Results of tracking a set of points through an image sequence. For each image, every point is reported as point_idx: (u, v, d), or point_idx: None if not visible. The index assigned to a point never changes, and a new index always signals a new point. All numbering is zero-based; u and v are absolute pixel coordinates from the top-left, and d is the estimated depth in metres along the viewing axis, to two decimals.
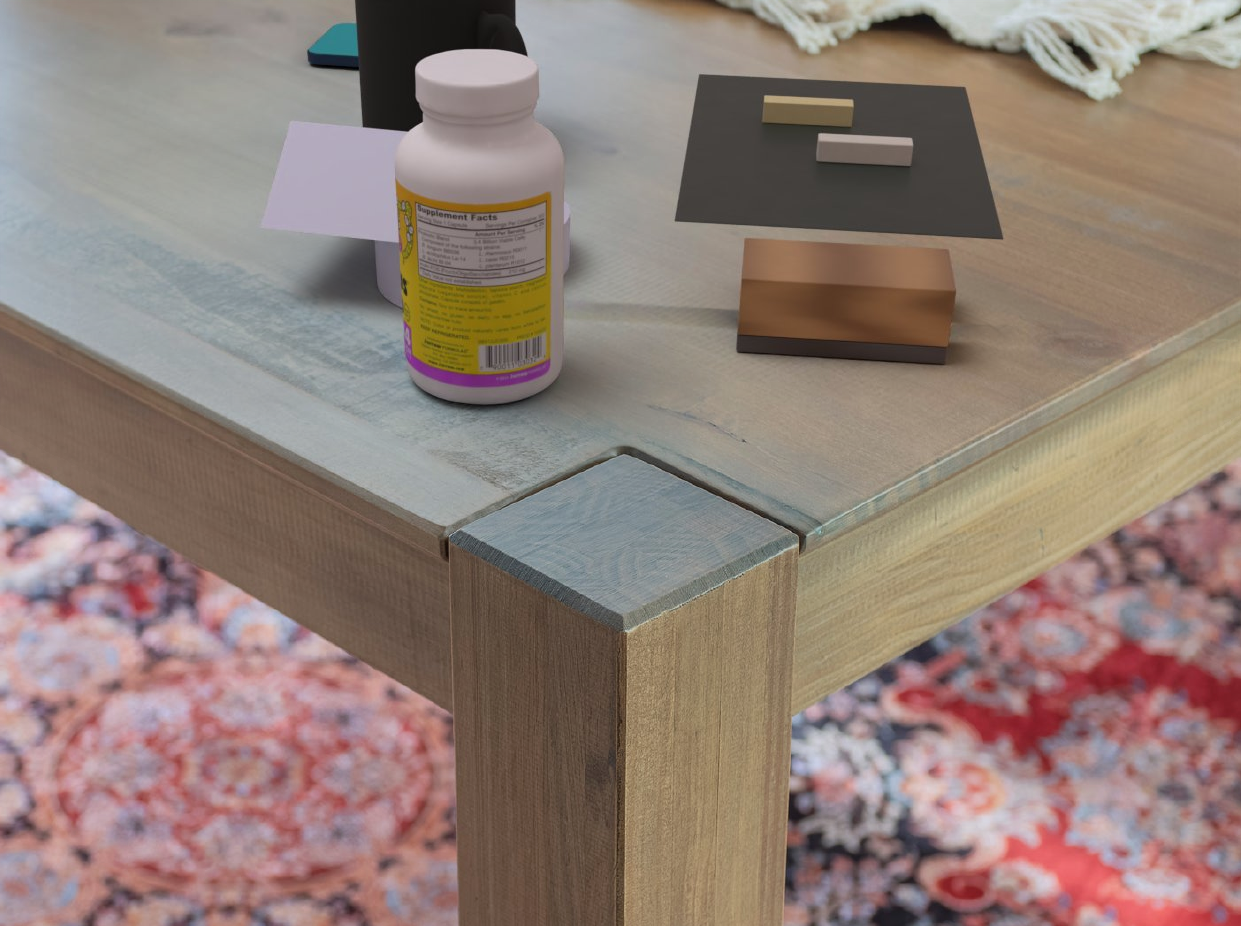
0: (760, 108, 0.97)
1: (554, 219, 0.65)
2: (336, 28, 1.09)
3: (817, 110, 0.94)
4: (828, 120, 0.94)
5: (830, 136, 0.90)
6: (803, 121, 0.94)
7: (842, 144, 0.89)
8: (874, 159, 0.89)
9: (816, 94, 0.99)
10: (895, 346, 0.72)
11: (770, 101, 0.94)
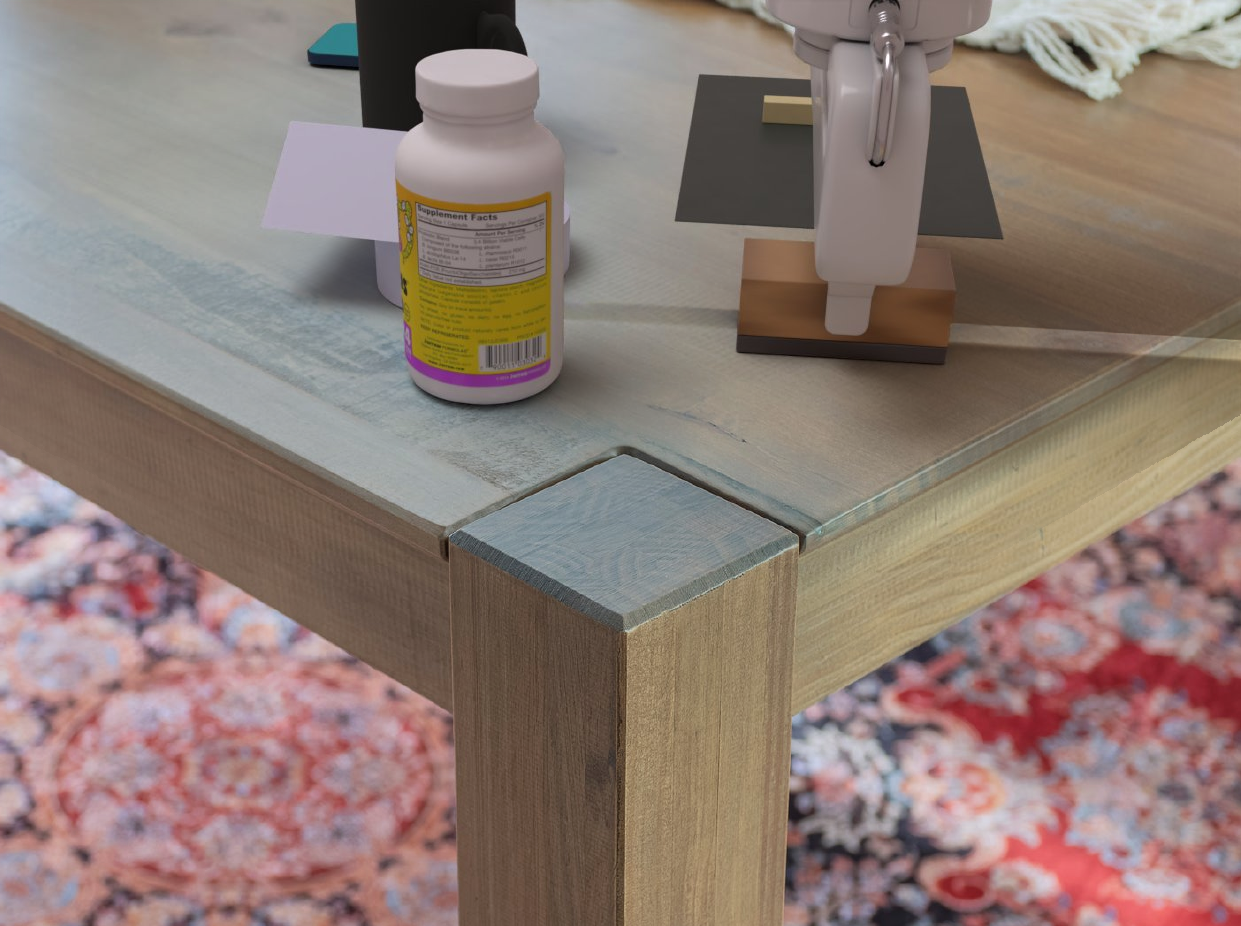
0: (760, 108, 0.97)
1: (554, 219, 0.65)
2: (336, 28, 1.09)
3: None
4: None
5: None
6: (803, 121, 0.94)
7: None
8: None
9: None
10: (895, 346, 0.72)
11: (770, 101, 0.94)
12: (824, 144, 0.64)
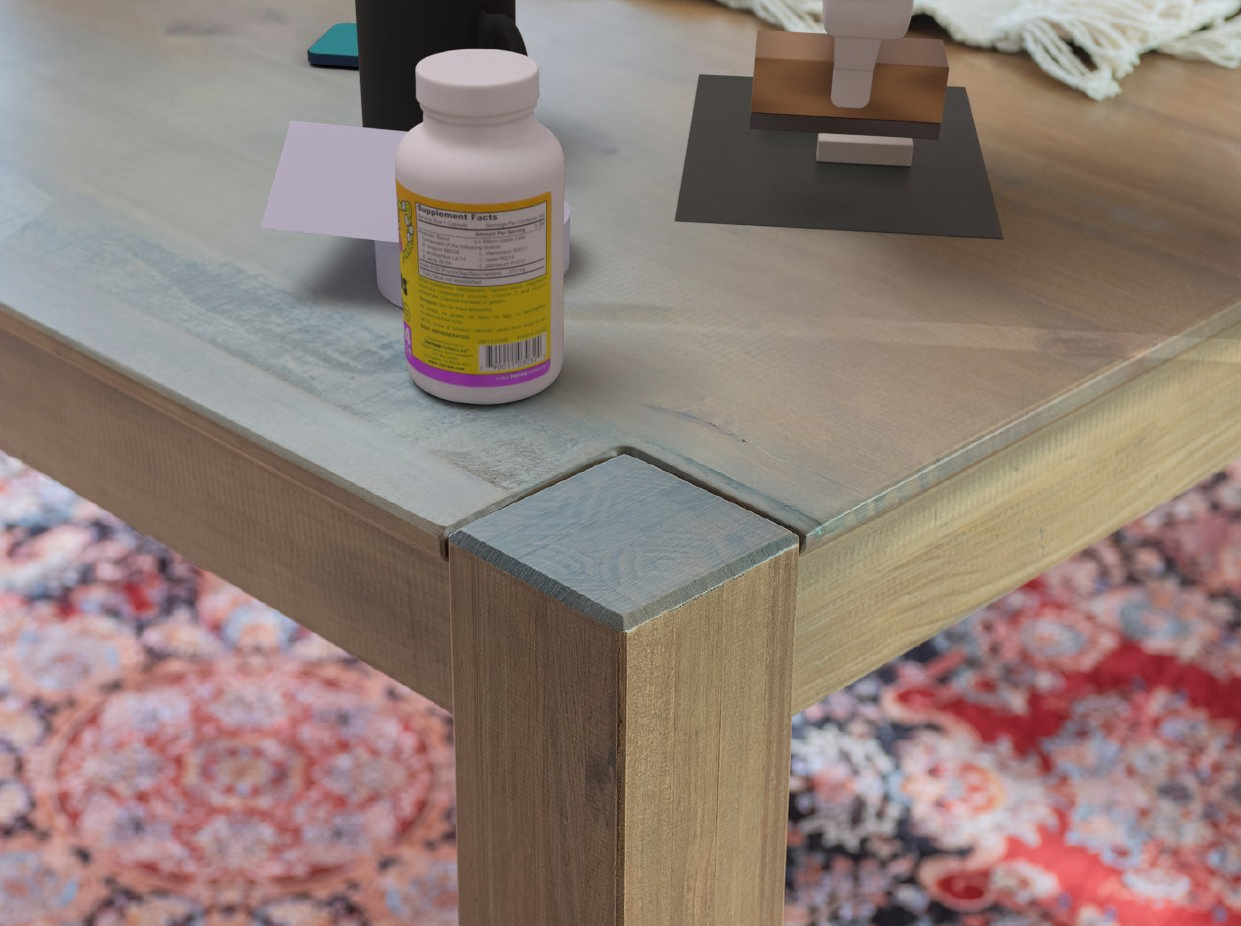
0: None
1: (554, 219, 0.65)
2: (336, 28, 1.09)
3: None
4: None
5: (830, 136, 0.90)
6: None
7: (842, 144, 0.89)
8: (874, 159, 0.89)
9: None
10: (894, 122, 0.79)
11: None
12: None
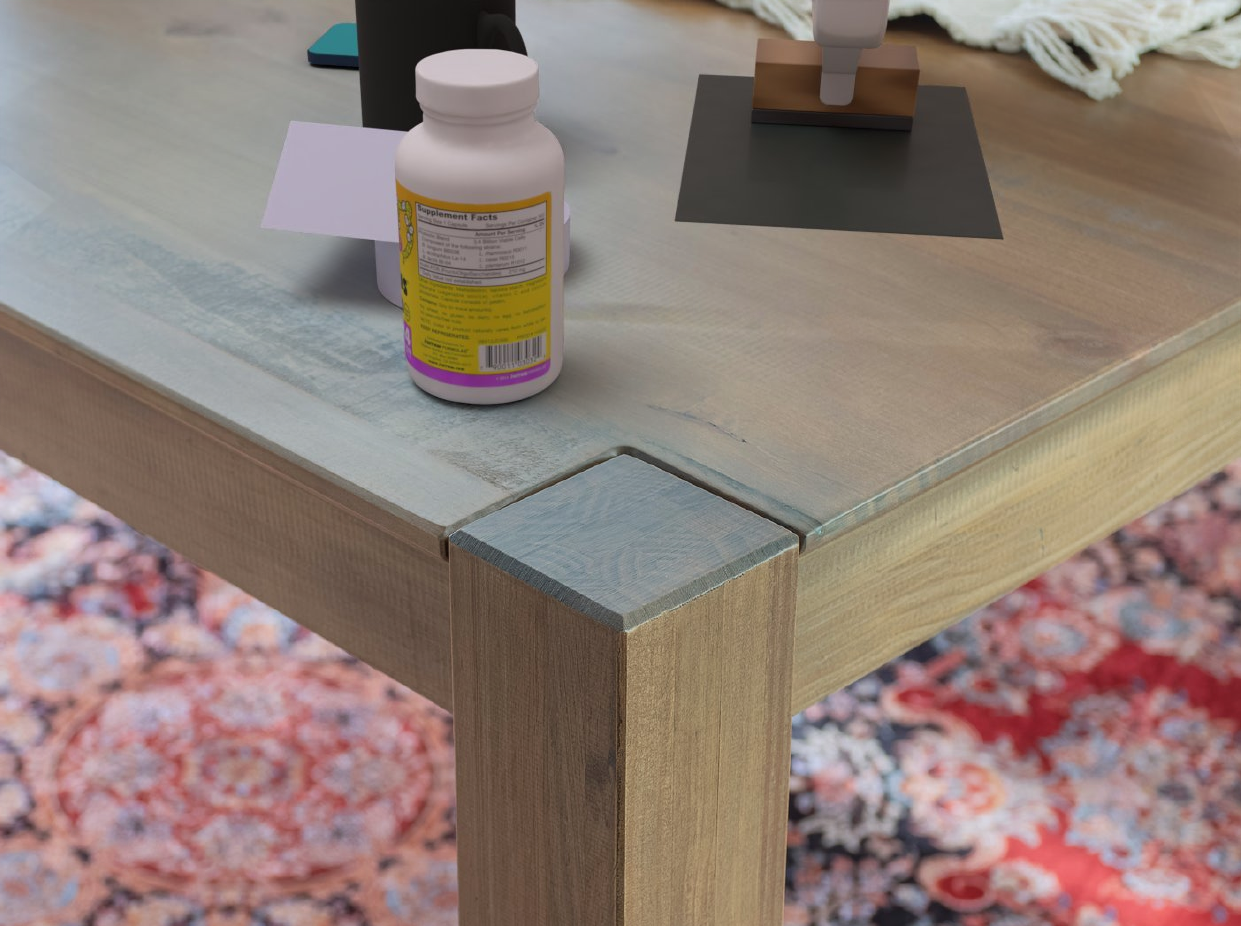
0: None
1: (554, 219, 0.65)
2: (336, 28, 1.09)
3: None
4: None
5: None
6: None
7: None
8: None
9: None
10: (873, 116, 0.94)
11: None
12: None
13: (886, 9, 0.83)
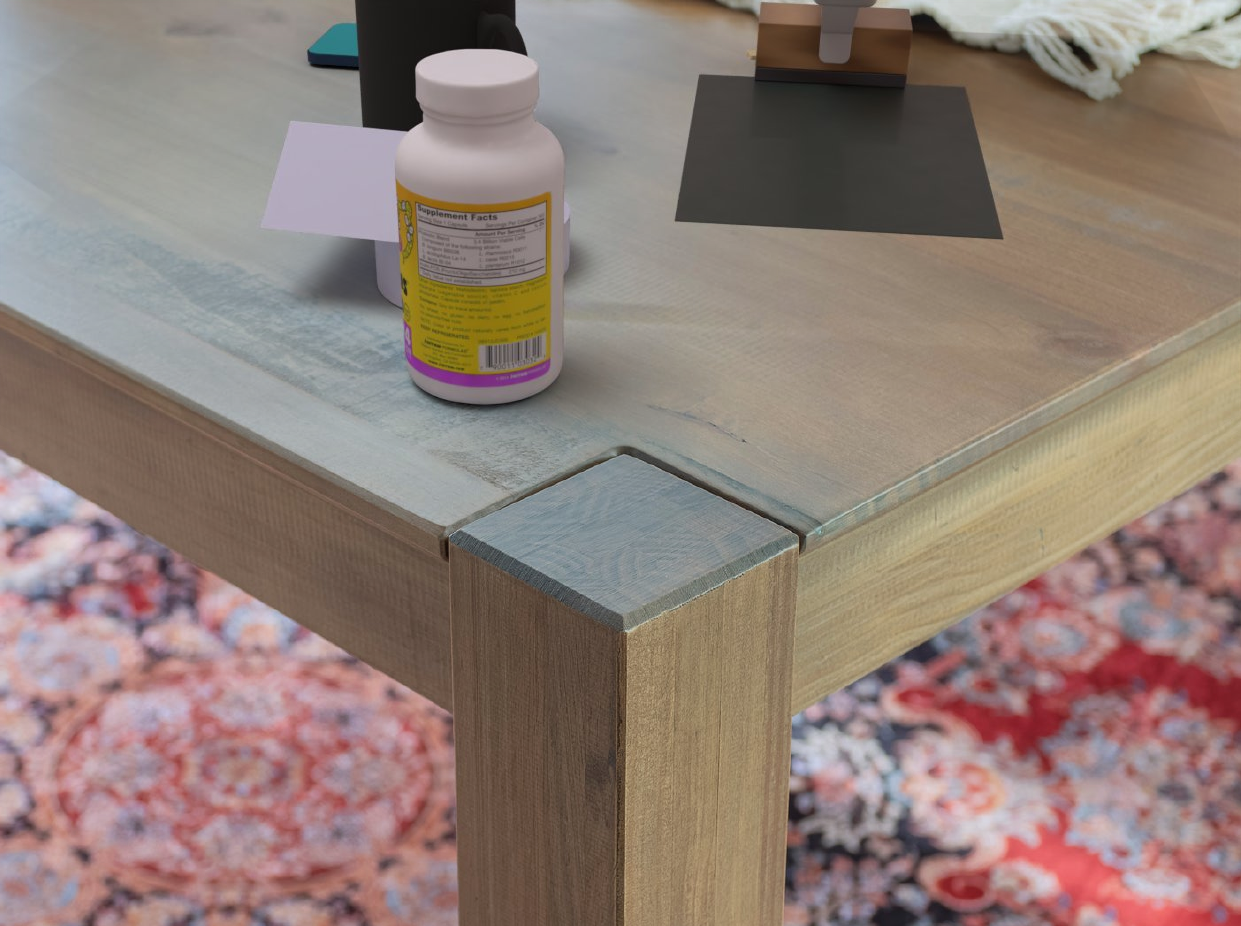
0: (760, 108, 0.97)
1: (554, 219, 0.65)
2: (336, 28, 1.09)
3: None
4: None
5: None
6: None
7: None
8: None
9: (816, 94, 0.99)
10: (869, 74, 1.00)
11: (751, 51, 1.06)
12: None
13: None
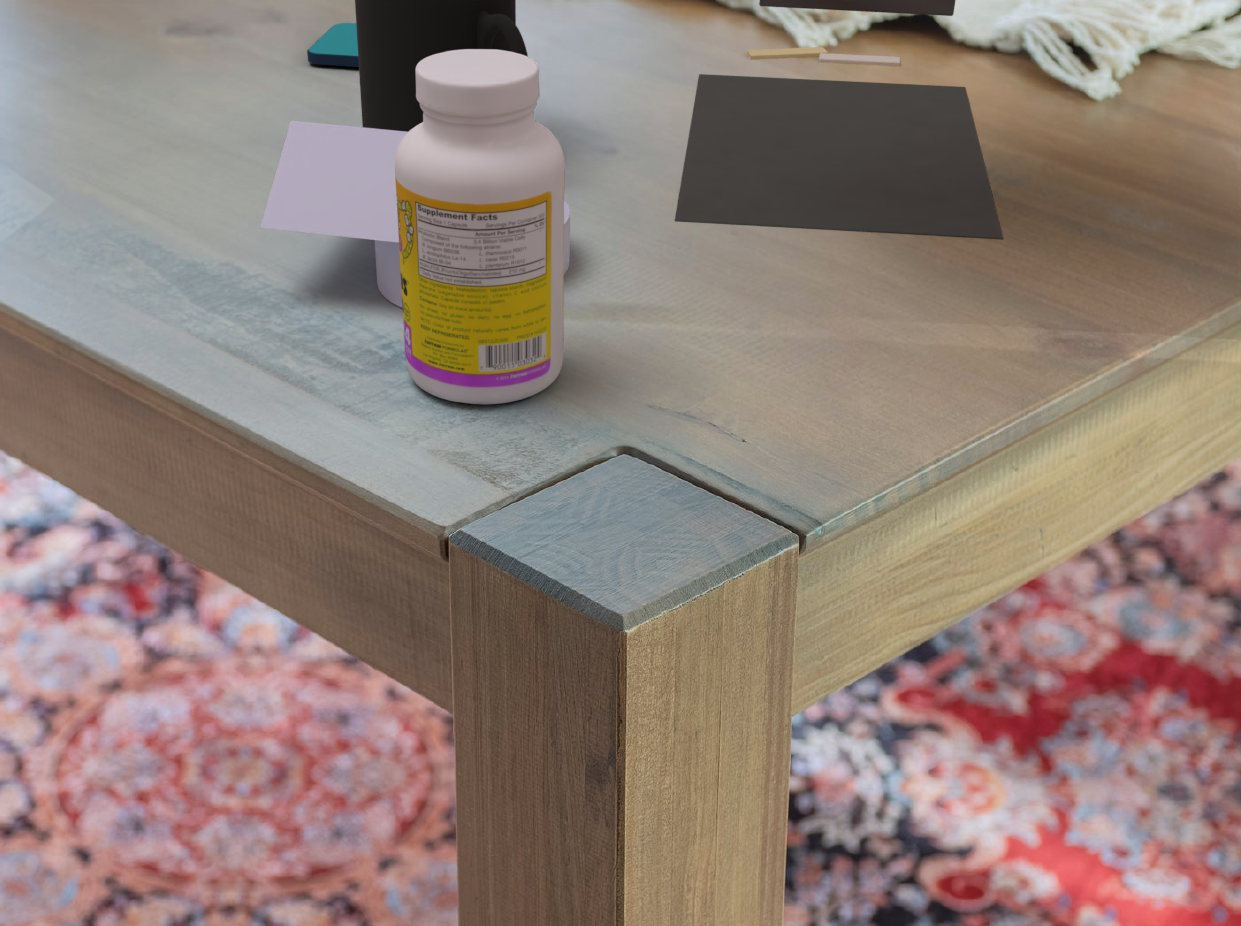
0: (760, 108, 0.97)
1: (554, 219, 0.65)
2: (336, 28, 1.09)
3: (794, 49, 1.06)
4: (806, 51, 1.05)
5: (829, 55, 1.05)
6: (786, 53, 1.05)
7: (839, 62, 1.04)
8: None
9: (816, 94, 0.99)
10: None
11: (751, 51, 1.06)
12: None
13: None
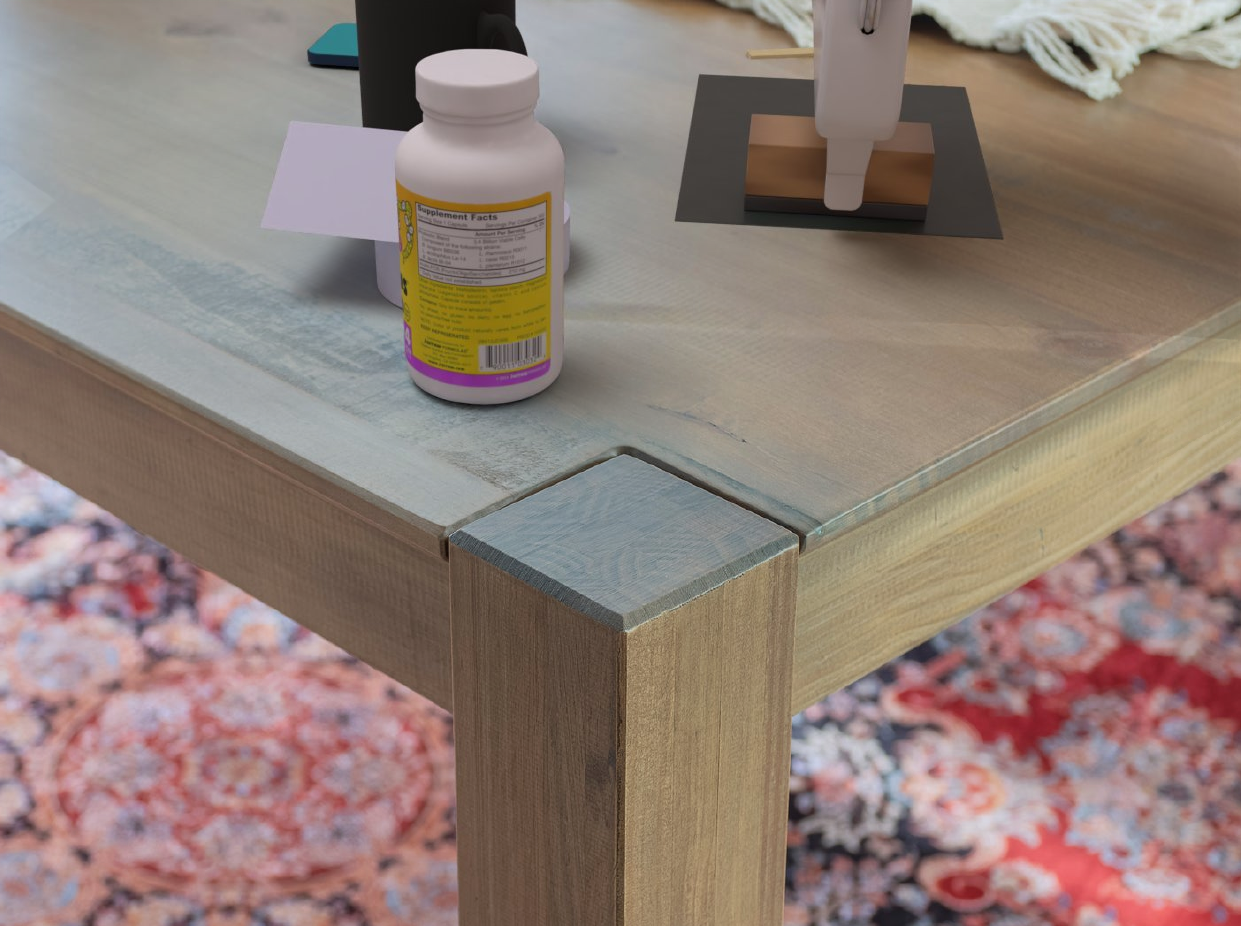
0: (760, 108, 0.97)
1: (554, 219, 0.65)
2: (336, 28, 1.09)
3: (794, 49, 1.06)
4: (806, 51, 1.05)
5: None
6: (786, 53, 1.05)
7: None
8: None
9: None
10: (882, 205, 0.83)
11: (751, 51, 1.06)
12: (823, 22, 0.75)
13: (899, 98, 0.72)
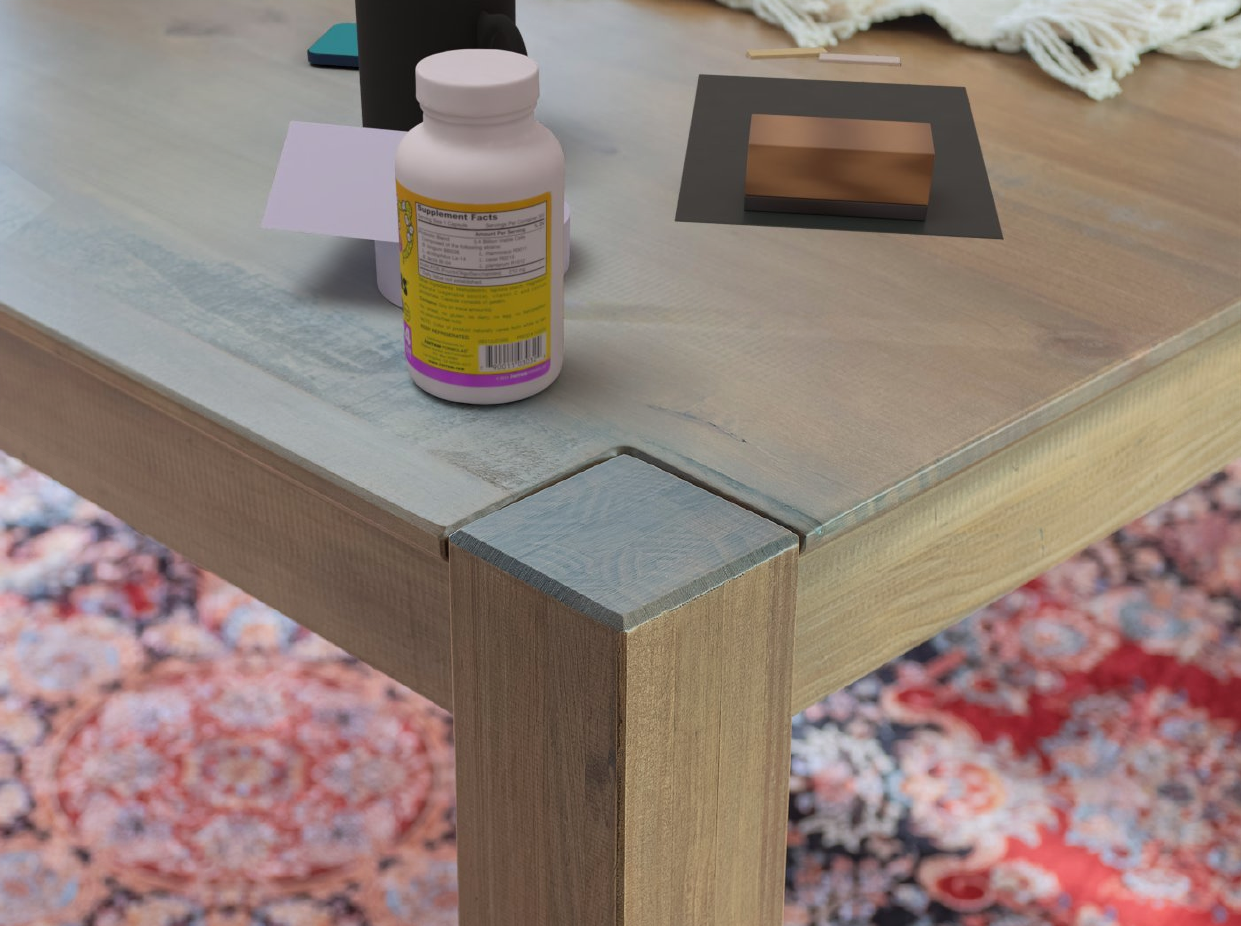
0: (760, 108, 0.97)
1: (554, 219, 0.65)
2: (336, 28, 1.09)
3: (794, 49, 1.06)
4: (806, 51, 1.05)
5: (829, 55, 1.05)
6: (786, 53, 1.05)
7: (839, 62, 1.04)
8: None
9: (816, 94, 0.99)
10: (882, 205, 0.83)
11: (751, 51, 1.06)
12: None
13: None
